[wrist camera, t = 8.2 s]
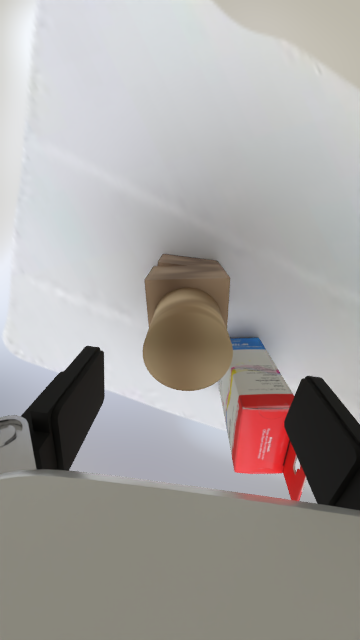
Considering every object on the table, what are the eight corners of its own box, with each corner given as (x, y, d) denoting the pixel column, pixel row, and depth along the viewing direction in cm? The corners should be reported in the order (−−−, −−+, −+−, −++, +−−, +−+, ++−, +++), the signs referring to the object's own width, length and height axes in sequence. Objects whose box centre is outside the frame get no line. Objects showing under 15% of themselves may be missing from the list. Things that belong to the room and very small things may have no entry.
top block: (220, 264, 20) (230, 278, 16) (217, 325, 23) (225, 351, 18) (153, 266, 21) (144, 279, 16) (158, 325, 23) (151, 352, 19)
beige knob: (226, 291, 16) (241, 319, 12) (214, 351, 18) (223, 394, 14) (156, 283, 16) (144, 308, 12) (152, 344, 18) (141, 386, 14)
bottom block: (217, 260, 25) (223, 270, 21) (207, 310, 28) (212, 329, 23) (163, 253, 25) (157, 261, 20) (158, 304, 28) (153, 322, 23)
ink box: (220, 337, 29) (250, 439, 16) (260, 336, 29) (323, 439, 15) (218, 390, 32) (240, 510, 19) (253, 389, 32) (300, 511, 19)
